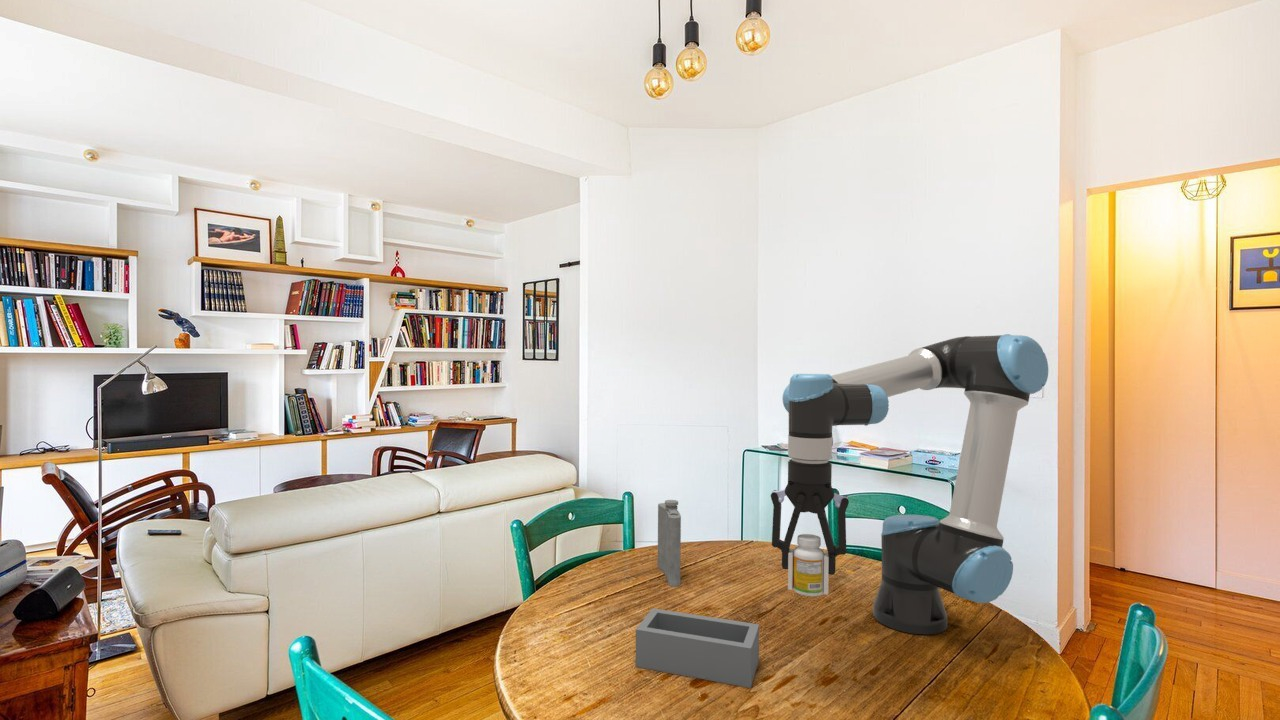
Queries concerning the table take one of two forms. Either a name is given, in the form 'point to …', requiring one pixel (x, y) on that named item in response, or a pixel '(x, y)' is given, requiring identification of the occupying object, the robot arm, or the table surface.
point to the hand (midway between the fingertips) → (808, 589)
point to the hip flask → (669, 541)
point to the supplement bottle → (808, 566)
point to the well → (698, 647)
